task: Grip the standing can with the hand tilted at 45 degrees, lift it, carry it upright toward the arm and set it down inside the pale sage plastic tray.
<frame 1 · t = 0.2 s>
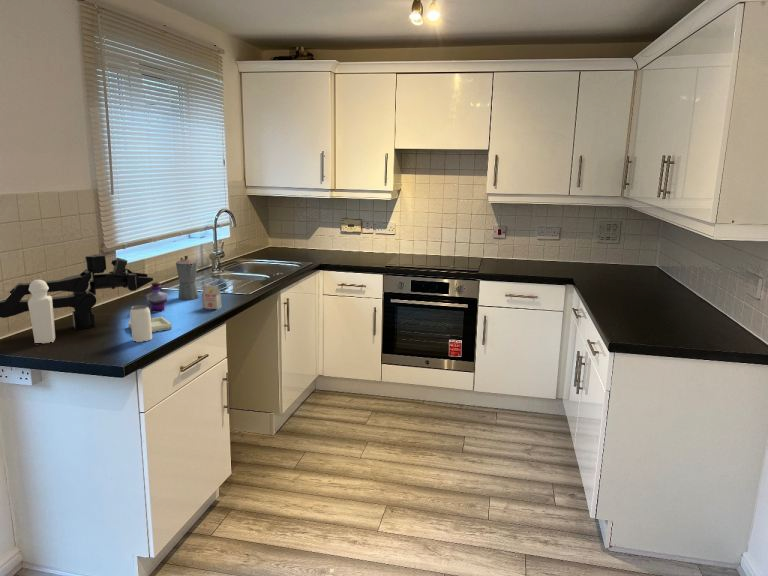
hand: (150, 277, 227), 17 cm above the worktop, tool horizontal, fingers open, 9 cm apart
potion bottle: (158, 310, 242), on the worktop
white bottle: (45, 341, 199), on the worktop
cream paper food packet: (212, 308, 245), on the worktop
can: (142, 340, 201), on the worktop
tray: (150, 328, 215), on the worktop
moka pot: (188, 298, 264), on the worktop
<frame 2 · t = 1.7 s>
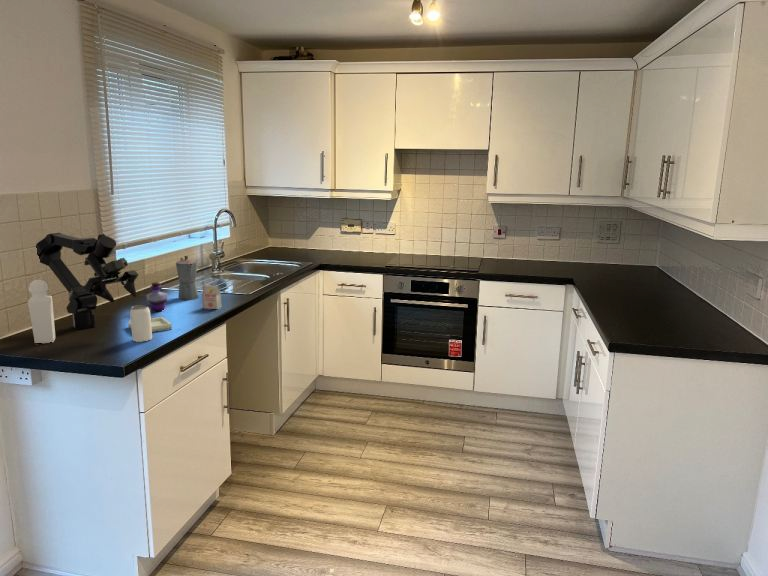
hand: (124, 299, 202), 14 cm above the worktop, tool tilted 45°, fingers open, 9 cm apart
nothing on the worktop moved.
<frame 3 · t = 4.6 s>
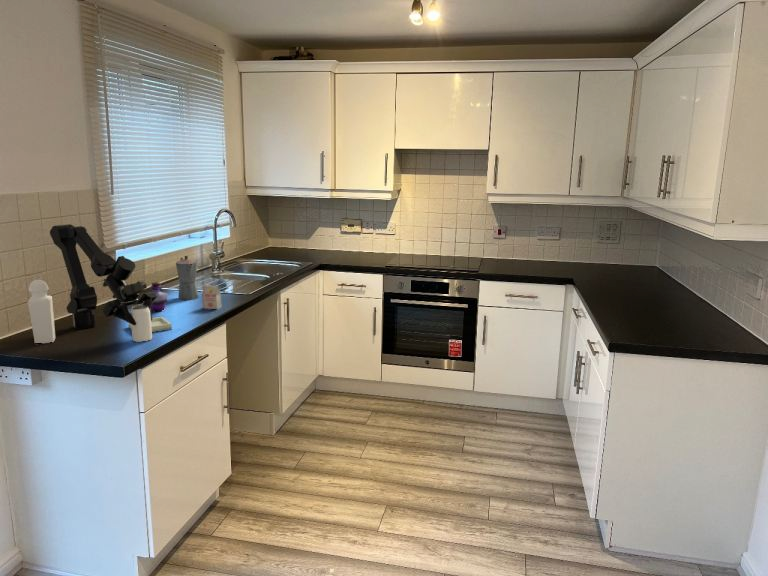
hand: (143, 322, 199), 7 cm above the worktop, tool tilted 45°, fingers closed on can, 6 cm apart
can: (142, 340, 201), on the worktop, touching gripper
everything else where it was.
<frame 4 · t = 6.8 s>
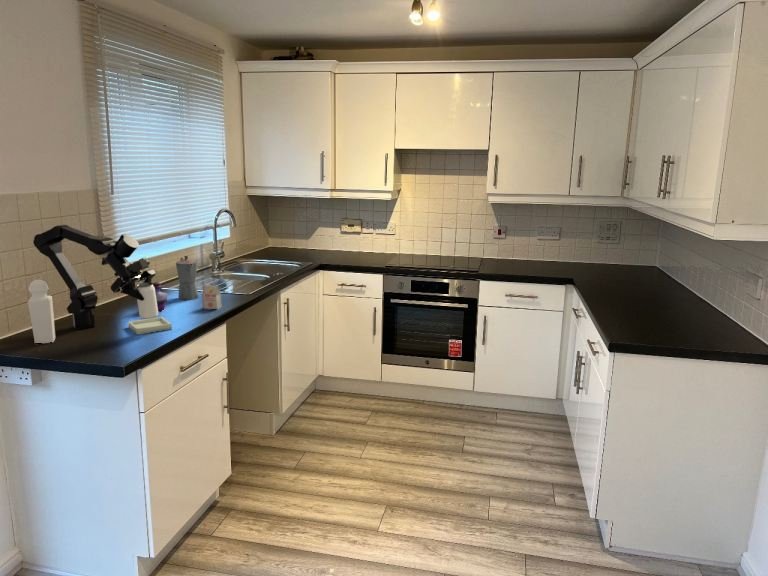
hand: (149, 297, 206), 13 cm above the worktop, tool tilted 45°, fingers closed on can, 6 cm apart
can: (149, 316, 209), point 6 cm above the worktop, touching gripper
everything else where it was.
when the fingers open (8 cm above the worktop, at t = 9.1 s): can stays where it is, resting on tray.
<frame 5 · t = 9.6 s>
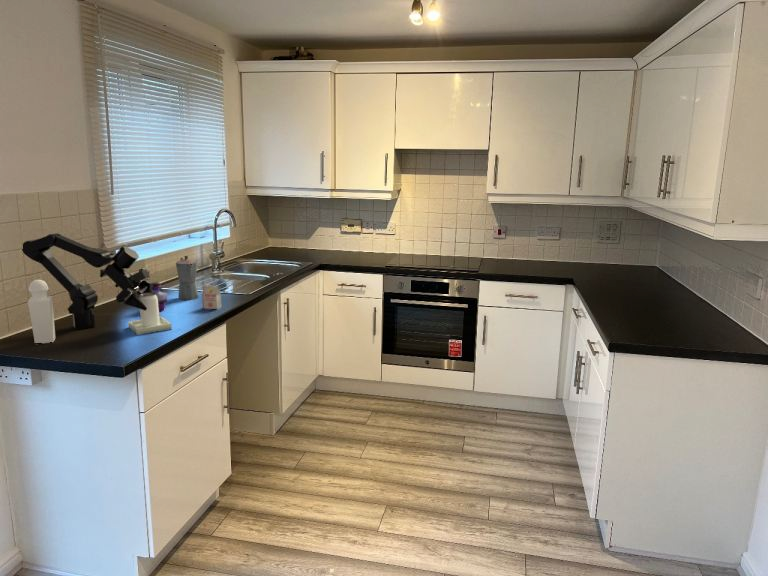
hand: (151, 306, 213), 9 cm above the worktop, tool tilted 45°, fingers open, 9 cm apart
can: (150, 325, 216), point 1 cm above the worktop, touching tray
everything else where it was.
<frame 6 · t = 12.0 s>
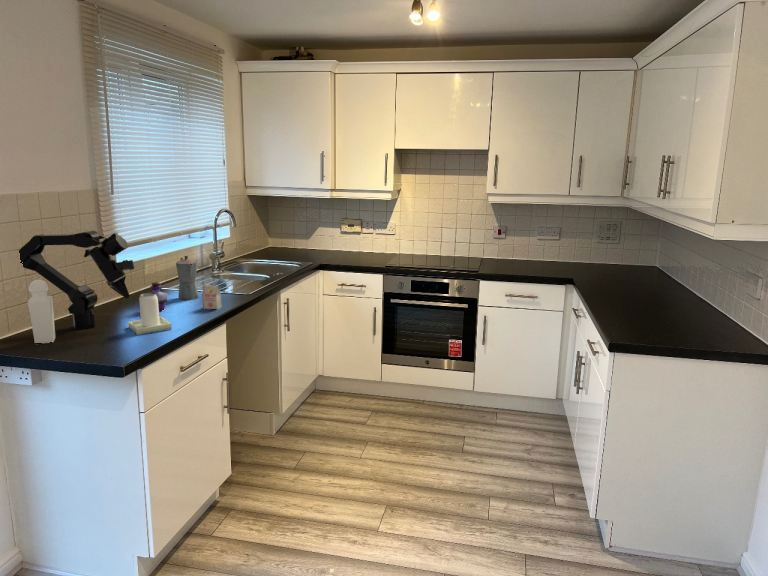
hand: (128, 297, 213), 12 cm above the worktop, tool tilted 30°, fingers open, 9 cm apart
nothing on the worktop moved.
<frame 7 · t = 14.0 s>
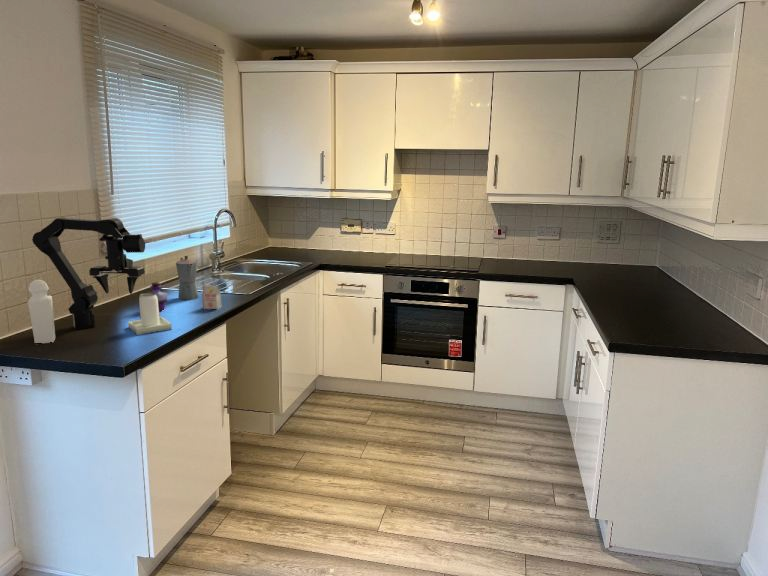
hand: (119, 293, 214), 13 cm above the worktop, tool pointing down, fingers open, 9 cm apart
nothing on the worktop moved.
at the end: can inside the target area on the tray (0.9 cm from its centre), point 0.8 cm above the tray's base; can tilted 0°; the gripper is holding nothing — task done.
